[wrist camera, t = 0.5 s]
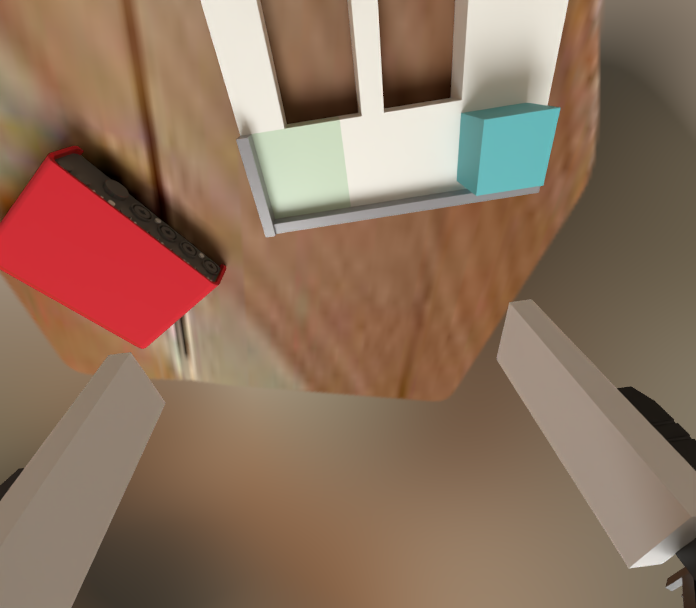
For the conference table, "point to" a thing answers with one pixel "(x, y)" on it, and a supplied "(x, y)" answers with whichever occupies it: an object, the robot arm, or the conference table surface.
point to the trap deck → (377, 113)
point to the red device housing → (102, 251)
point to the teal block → (505, 147)
